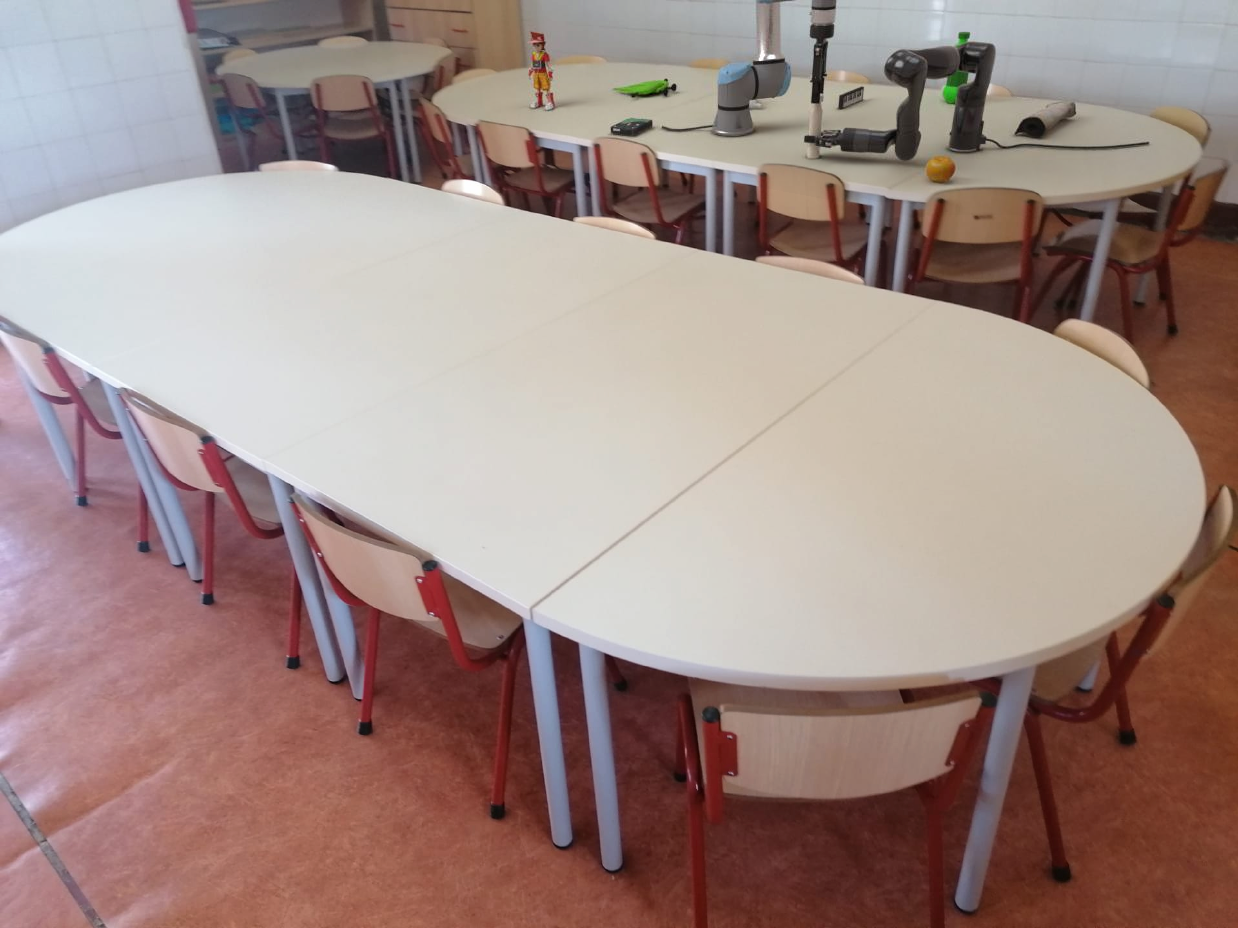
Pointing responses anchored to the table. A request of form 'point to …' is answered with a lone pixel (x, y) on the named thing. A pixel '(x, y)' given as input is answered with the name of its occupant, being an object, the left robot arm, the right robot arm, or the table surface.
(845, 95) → the midi keyboard
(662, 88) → the toy
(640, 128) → the disk drive
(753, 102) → the anatomical model
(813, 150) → the bottle
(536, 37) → the toy
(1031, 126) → the rolled mat
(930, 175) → the fruit
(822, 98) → the cap
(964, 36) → the plastic bottle
